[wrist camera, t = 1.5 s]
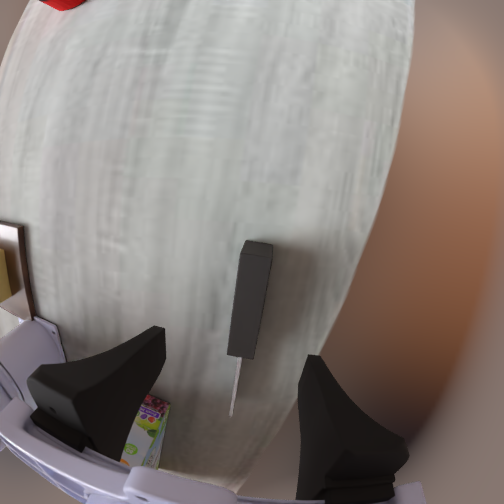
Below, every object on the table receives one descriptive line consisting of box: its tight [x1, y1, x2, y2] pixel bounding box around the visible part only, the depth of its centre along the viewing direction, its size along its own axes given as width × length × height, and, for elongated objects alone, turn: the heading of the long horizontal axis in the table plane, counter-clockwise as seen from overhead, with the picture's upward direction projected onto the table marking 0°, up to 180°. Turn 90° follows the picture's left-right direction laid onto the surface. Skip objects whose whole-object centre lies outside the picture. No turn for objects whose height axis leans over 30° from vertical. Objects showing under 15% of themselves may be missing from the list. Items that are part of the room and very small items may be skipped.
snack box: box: [120, 395, 170, 470], centre depth 22 cm, size 21×6×15 cm, turn 162°
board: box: [0, 221, 36, 321], centre depth 23 cm, size 12×10×1 cm
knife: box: [227, 240, 273, 417], centre depth 21 cm, size 16×2×3 cm, turn 172°
